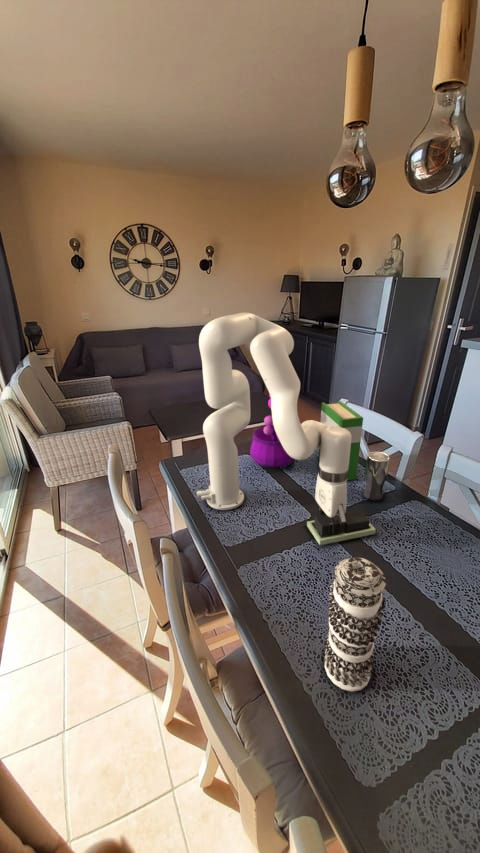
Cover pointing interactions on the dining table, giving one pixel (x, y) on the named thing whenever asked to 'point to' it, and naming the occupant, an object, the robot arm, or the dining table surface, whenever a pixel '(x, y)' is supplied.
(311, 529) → the tray
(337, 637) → the decorative candle
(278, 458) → the decorative plant
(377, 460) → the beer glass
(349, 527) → the seated pad
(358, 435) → the hardback book
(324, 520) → the black rectangular block
